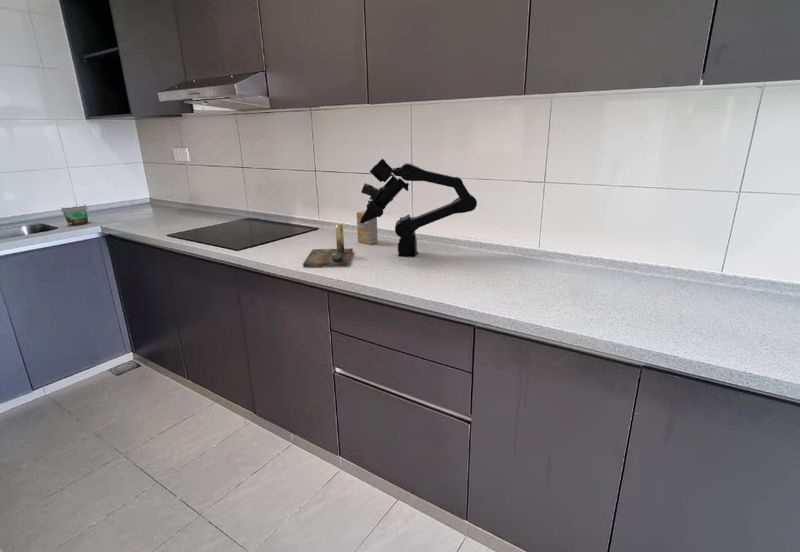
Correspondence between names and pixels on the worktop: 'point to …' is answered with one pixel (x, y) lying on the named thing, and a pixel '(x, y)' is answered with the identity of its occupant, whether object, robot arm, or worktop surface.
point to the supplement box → (367, 230)
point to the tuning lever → (339, 243)
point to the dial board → (326, 258)
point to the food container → (76, 215)
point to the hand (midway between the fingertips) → (361, 221)
